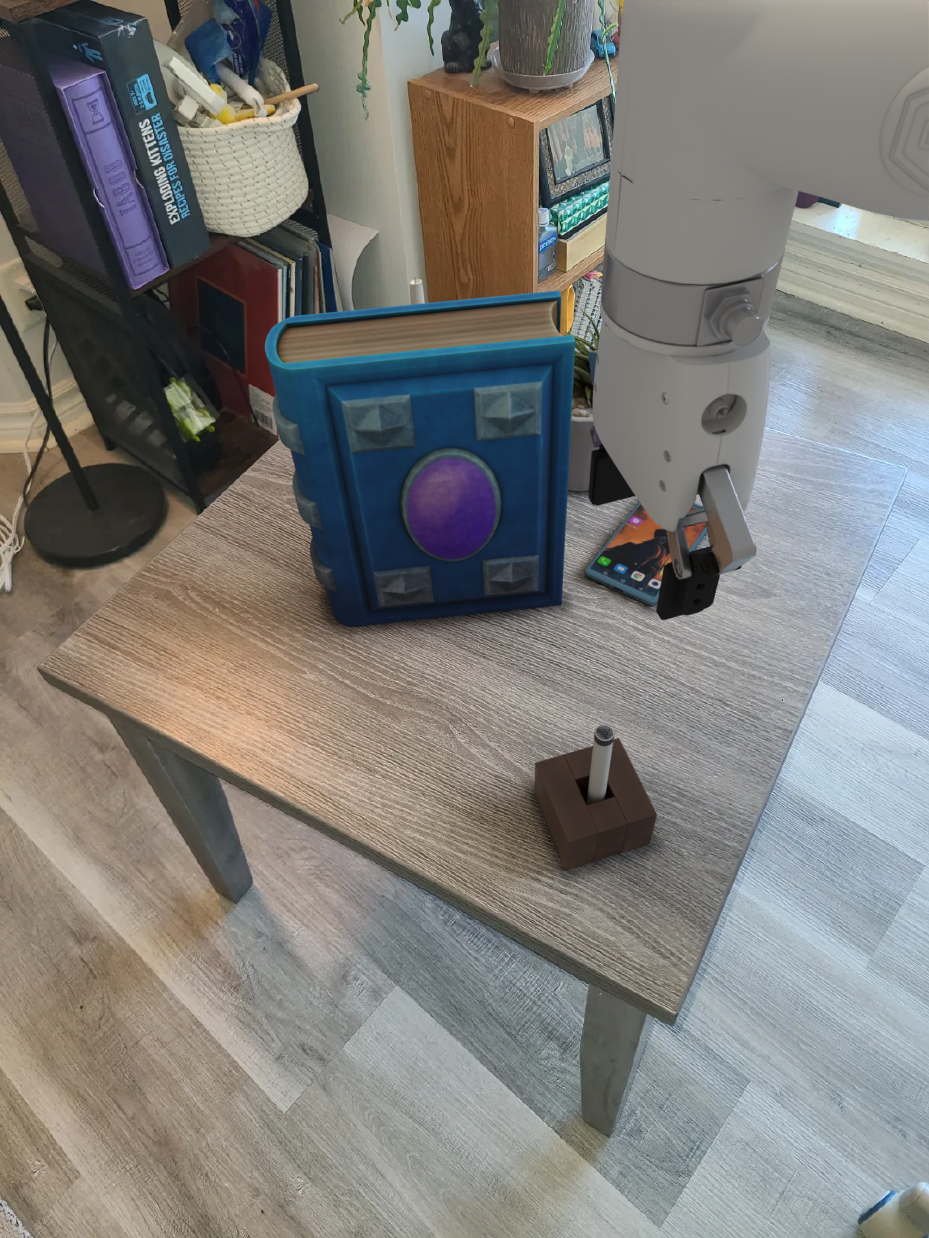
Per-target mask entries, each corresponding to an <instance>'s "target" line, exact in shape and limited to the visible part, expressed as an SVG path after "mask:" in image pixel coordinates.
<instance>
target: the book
mask: <svg viewBox="0 0 929 1238" xmlns="http://www.w3.org/2000/svg"><path fill="white" fill-rule="evenodd" d="M561 314H562V294H561V290H558V289H557V290H549V291H548V290H547V291H539V292H527V293H519V294H518V293H517V294H508V295H507V294H506V295H498V296H487V297H486V296H485V297H477V298H475V297H474V298H466V299H465V298H464V299H457V300H455V299H454V300H446V301H436V302H435V301H434V302H425V303H423V304H413V305H411V304H404V305H394V306H393V305H391V306H383V307H382V306H381V307H373V308H362V309H351V310H341V311H332V312H321V313H310V314H300V315H299V314H298V315H293V316H290V317H287V318H285V319H282V320H281V321H279V322H278V323H277V324H274V325H273V326H272V328H271V329H270V330H269V331H268V333H267V336H266V338H265V343H264V351H265V355H266V359H267V363H268V368H269V371H270V374H271V379H272V383H273V387H274V390H275V394H274V397H273V400H272V405H271V406H272V415H273V418H274V422H275V426H276V429H277V430H276V431H277V433H278V434H277V435H278V437H279V440H280V442H281V443H282V445H283V446H284V447H285V448H287V449H288V450H290V454H291V458H292V461H293V465H294V466H293V467H294V472H293V475H292V483H291V484H292V491H293V495H294V499H295V502H296V507H297V510H298V513H299V516H300V518H301V520H302V521H303V522H304V523H305V524H307V525H308V526H309V529H310V534H311V540H310V543H309V556H310V560H311V565H312V568H313V572H314V575H315V578H316V580H317V581H318V583H319V585H321V586H322V587H324V588H325V593H326V597H327V600H328V605H329V608H330V612H331V614H332V617H333V618H334V620H335V621H336V622H338V624H340V625H343V626H345V627H349V628H357V627H367V626H374V625H386V624H395V623H403V622H413V621H415V622H416V621H422V620H423V621H424V620H432V619H443V618H453V617H461V616H469V615H480V614H481V615H482V614H490V613H499V612H509V611H510V612H511V611H518V610H528V609H536V608H537V609H538V608H547V607H558V606H562V605H563V588H564V569H565V568H564V567H565V549H566V531H567V514H568V513H567V512H568V511H567V510H568V491H569V490H568V474H569V455H570V436H571V417H572V397H573V378H574V359H575V350H576V348H575V342H576V341H575V339H574V336H575V335H574V334H571V335H568V336H565V335H563V334H561V317H562V315H561Z"/></svg>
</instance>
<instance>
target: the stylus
mask: <svg viewBox="0 0 929 1238" xmlns="http://www.w3.org/2000/svg"><path fill="white" fill-rule="evenodd" d="M614 739H615V730H614V728H612V727H611V726H610V725H608V724H600V725H597V727H596V728H595V729H594V734H593V745H592V746H593V752H592V761H591V770H590V779H589V787H588V796H587V805H590V804H593V803H596V802H600V801H603V800H605V794H606V787H607V781H608V774H609V767H610V760H611V753H612V746H613V741H614ZM587 805H586V806H587Z"/></svg>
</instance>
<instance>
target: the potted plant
mask: <svg viewBox="0 0 929 1238" xmlns="http://www.w3.org/2000/svg"><path fill="white" fill-rule="evenodd" d="M580 311H581V312H582V313H583V314H584V316H586V318H587V319H588V320H589V321H590V323H591V325H592V327H593V330H594V332H595V334H594V333H593V331H592V330H591V329H590V328H589V326H588V325H586V329H587V330H588V332H589V333H590V336H591V337H592V341H593V344H592V343H591V342H590V341H588V340H587V339H584V338H583V337H580V336H576V335H573V336H574V339H575V359H574V378H573V397H572V417H571V436H570V455H569V474H568V491H572V492H589V480H590V466H591V453H592V451H593V450H597V449H599V447H597V448H595V447H594V446H593V445H592V443H591V439H590V429H591V427H593V426H594V422H593V408H592V406H591V405H590V403H589V398H590V396H589V395H590V392H591V390H592V389H593V388H594V385H592V380H591V372H590V364H589V353H590V352H591V351H596V350H598V343H599V336H600V330H599V329H598V327H597V326H596V323H595V322H594V320H593V319H592V318H591V316H589V314H587V313H586V312H585V311H584V310H582V309H580ZM568 335H572V334H571V333H569V332H567V331H564V333H563V336H568ZM595 335H596V336H595ZM586 346H587V347H588V348H589V349H588V348H587V347H586Z"/></svg>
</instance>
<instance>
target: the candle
mask: <svg viewBox="0 0 929 1238" xmlns="http://www.w3.org/2000/svg"><path fill="white" fill-rule="evenodd" d="M408 286H409V298H410V305H413V304H423V303H426V302H425V293H424V286H423V280H422V279H420V278H416V277H414V279H412V280H411V281H409V285H408Z"/></svg>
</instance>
